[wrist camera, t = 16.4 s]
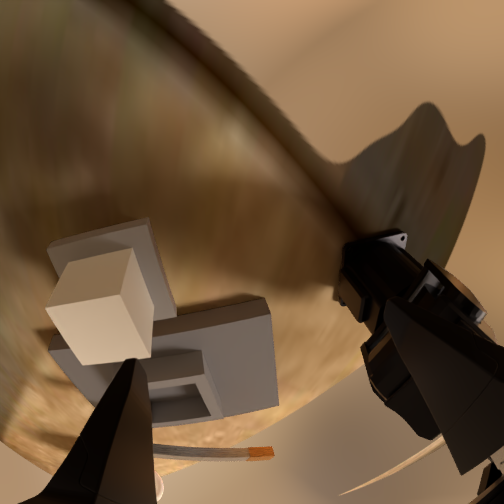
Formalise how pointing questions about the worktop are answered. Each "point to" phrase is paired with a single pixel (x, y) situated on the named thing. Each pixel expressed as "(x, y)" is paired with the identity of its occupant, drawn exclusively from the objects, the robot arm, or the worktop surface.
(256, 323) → the socket block
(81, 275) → the plug
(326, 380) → the worktop surface
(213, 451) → the latch bar
